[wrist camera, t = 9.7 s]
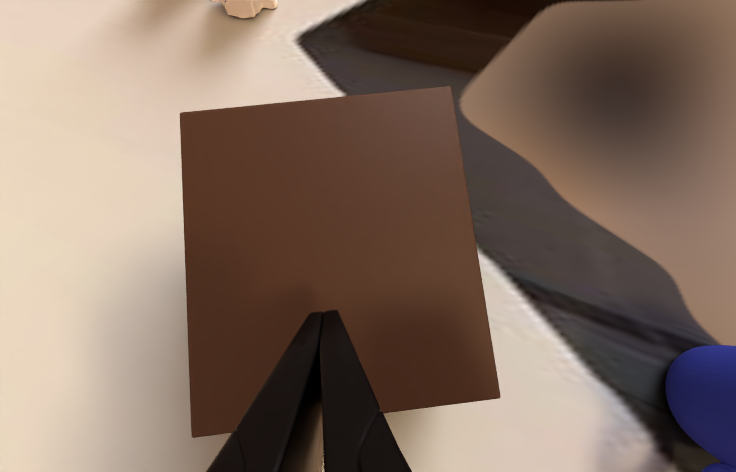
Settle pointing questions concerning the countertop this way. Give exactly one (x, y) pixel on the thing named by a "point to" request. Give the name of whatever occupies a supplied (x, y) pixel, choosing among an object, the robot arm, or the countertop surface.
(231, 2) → the shaker set
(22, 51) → the countertop surface
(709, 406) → the mug
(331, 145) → the brown square block
